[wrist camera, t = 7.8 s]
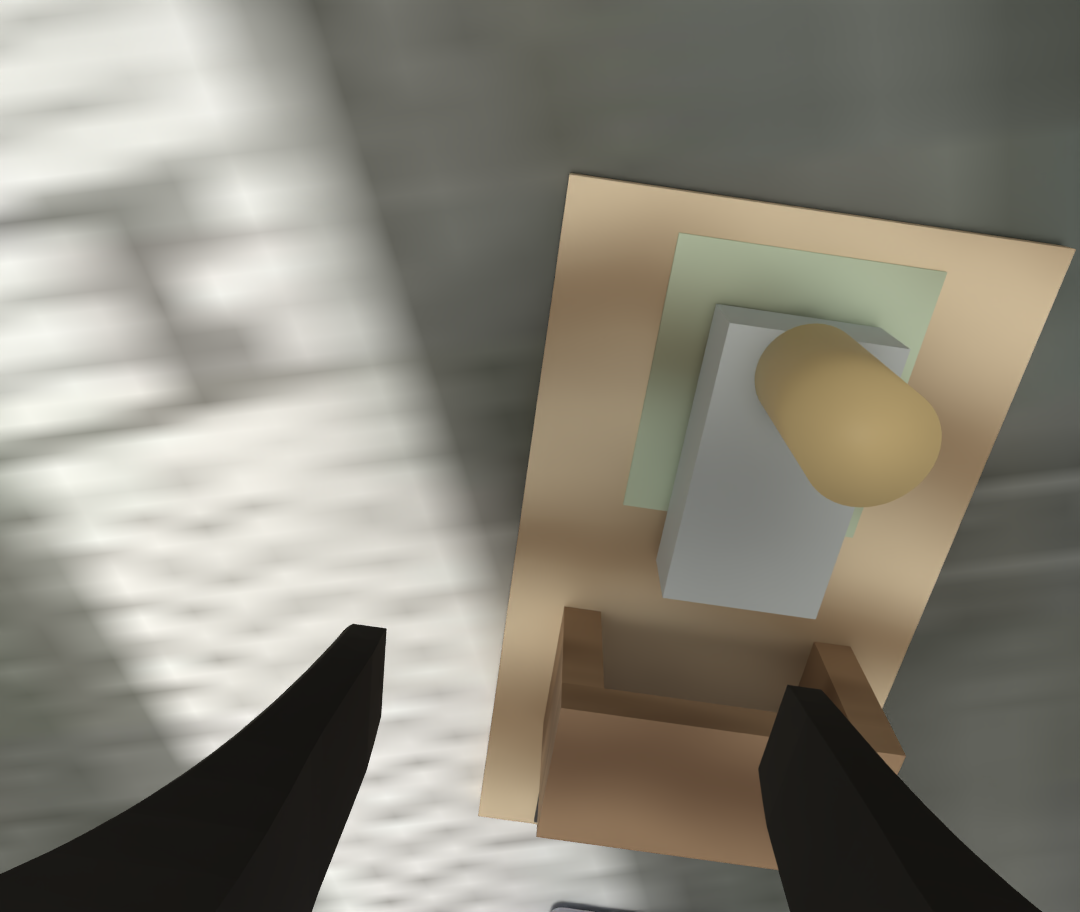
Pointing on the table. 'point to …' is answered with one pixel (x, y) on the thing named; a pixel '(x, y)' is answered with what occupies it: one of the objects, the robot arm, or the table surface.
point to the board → (662, 418)
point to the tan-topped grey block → (787, 457)
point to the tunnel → (672, 756)
